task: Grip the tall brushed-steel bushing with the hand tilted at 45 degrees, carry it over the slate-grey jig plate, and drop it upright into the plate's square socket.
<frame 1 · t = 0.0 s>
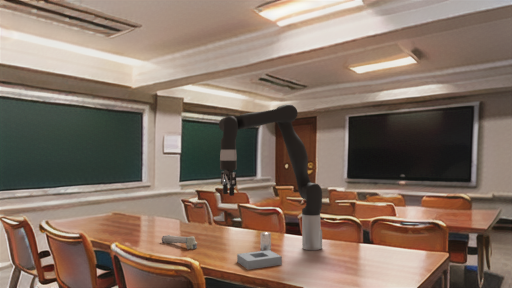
hand: (228, 194, 163), 29 cm above the table, fingers open, 8 cm apart
grey elongated piece: (179, 246, 187), on the table
jig plate: (259, 263, 155), on the table
steel bushing: (265, 254, 170), on the table
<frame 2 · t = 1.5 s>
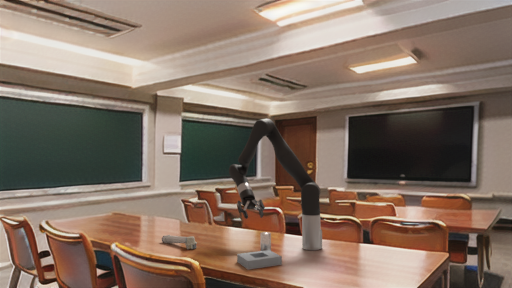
hand: (254, 217, 182), 16 cm above the table, fingers open, 8 cm apart
nothing on the table moved.
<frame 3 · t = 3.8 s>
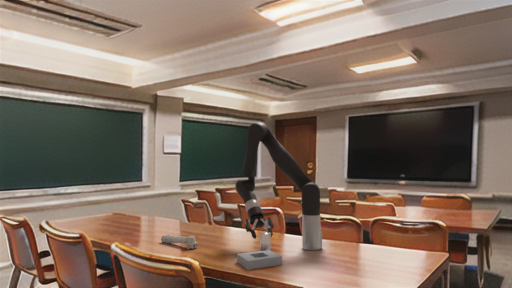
hand: (263, 237, 172), 8 cm above the table, fingers open, 8 cm apart
nothing on the table moved.
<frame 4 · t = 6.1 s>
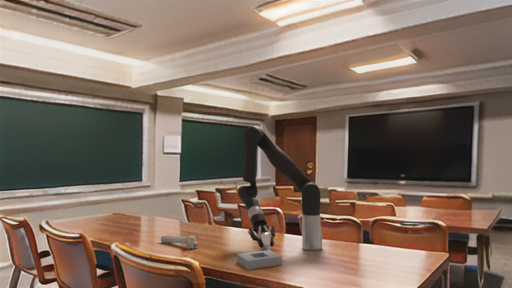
hand: (267, 246, 168), 4 cm above the table, fingers closed on steel bushing, 5 cm apart
steel bushing: (265, 254, 170), on the table, touching gripper
everything else where it was.
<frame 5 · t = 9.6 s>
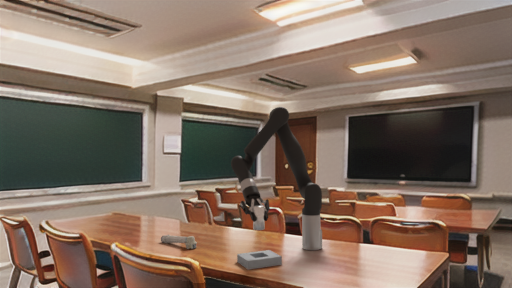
hand: (260, 220, 154), 19 cm above the table, fingers closed on steel bushing, 5 cm apart
steel bushing: (258, 229, 156), point 15 cm above the table, touching gripper
everything else where it was.
when the fingers open (6 cm above the table, at t = 13.4 s): steel bushing drops 1 cm, resting in jig plate.
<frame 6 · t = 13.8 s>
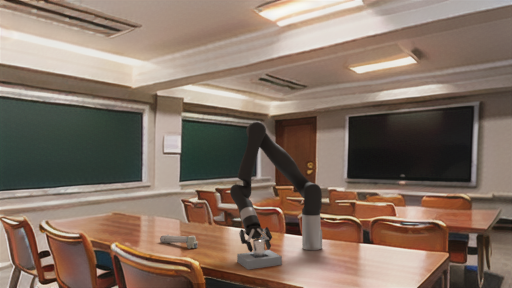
hand: (260, 249, 154), 6 cm above the table, fingers open, 8 cm apart
steel bushing: (259, 263, 155), resting in jig plate
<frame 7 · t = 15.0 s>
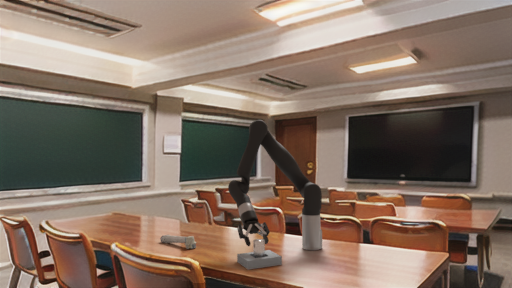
hand: (258, 244, 157), 8 cm above the table, fingers open, 8 cm apart
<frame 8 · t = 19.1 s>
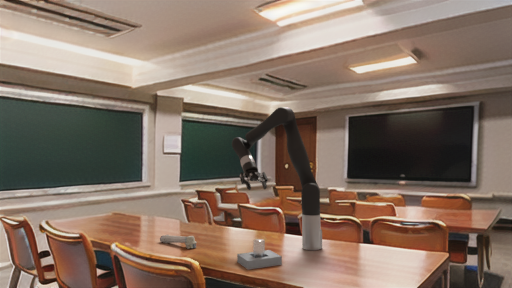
hand: (257, 188, 179), 31 cm above the table, fingers open, 8 cm apart
at the end: steel bushing 0.2 cm off-centre on the jig plate, point 0.0 cm above the jig plate's base; steel bushing tilted 0°; the gripper is holding nothing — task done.
